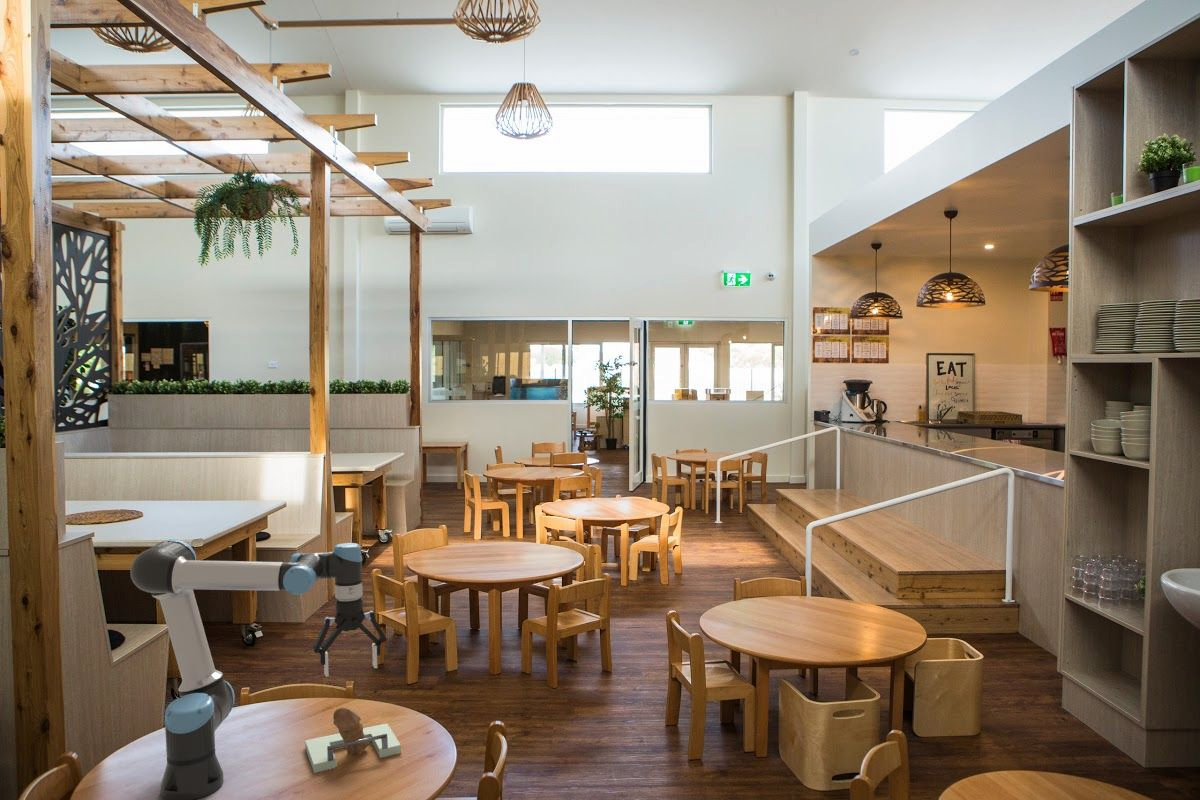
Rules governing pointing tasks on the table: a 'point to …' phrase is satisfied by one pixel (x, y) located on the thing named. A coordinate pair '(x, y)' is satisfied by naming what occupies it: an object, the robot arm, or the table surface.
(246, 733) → the table surface
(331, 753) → the bar handle
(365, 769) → the table surface
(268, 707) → the table surface
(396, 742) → the pale green u-shaped slab
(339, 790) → the table surface
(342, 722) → the figurine
